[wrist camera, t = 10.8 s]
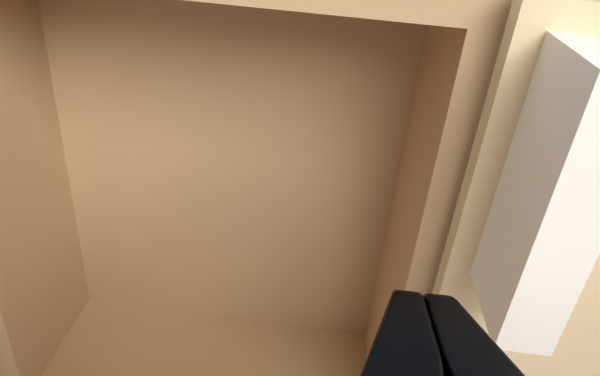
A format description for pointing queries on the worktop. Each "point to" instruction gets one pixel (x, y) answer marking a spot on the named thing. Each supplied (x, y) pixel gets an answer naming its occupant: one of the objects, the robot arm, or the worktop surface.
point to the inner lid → (535, 195)
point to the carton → (227, 177)
